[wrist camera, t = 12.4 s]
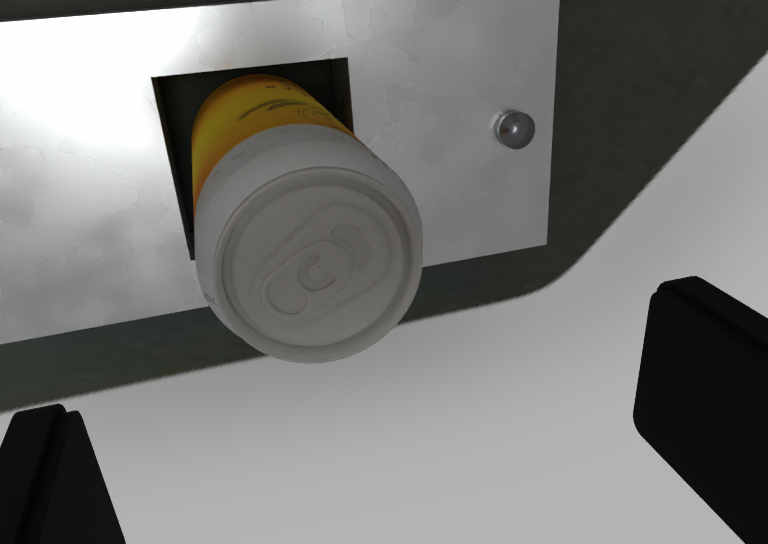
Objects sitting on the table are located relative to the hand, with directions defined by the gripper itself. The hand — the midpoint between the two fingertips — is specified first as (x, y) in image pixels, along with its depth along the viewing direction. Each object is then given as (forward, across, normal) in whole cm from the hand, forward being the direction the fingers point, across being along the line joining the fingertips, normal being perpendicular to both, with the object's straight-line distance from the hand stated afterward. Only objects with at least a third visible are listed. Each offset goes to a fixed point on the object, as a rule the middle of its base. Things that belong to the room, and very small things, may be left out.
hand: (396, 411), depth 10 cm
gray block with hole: (+21, 0, +1) cm, 21 cm away
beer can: (+21, 0, +1) cm, 21 cm away
